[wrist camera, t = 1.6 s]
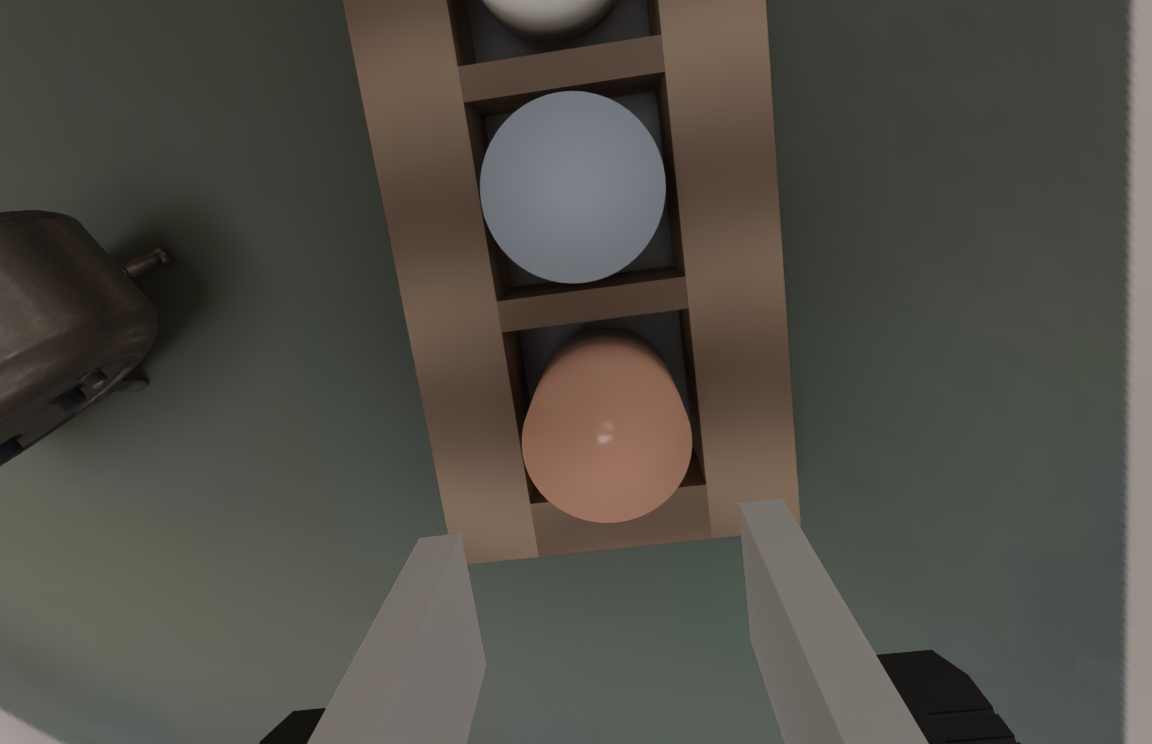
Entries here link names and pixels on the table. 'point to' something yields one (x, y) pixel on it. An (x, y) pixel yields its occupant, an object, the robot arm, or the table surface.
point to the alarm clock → (65, 324)
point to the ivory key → (548, 17)
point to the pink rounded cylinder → (606, 428)
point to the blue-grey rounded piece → (572, 187)
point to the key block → (620, 301)
